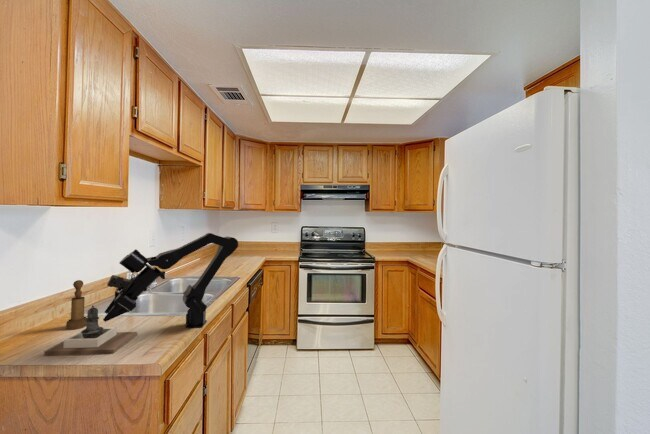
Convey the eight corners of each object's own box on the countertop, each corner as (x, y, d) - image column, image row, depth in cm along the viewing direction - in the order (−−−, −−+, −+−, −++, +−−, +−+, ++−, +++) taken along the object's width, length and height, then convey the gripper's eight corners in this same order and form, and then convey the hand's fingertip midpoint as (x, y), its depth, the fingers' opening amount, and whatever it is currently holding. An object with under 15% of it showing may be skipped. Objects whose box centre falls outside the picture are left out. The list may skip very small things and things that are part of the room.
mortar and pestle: (84, 328, 110) (85, 281, 110) (62, 330, 107) (63, 282, 107) (90, 322, 116) (91, 278, 116) (70, 324, 114) (71, 279, 114)
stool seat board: (137, 335, 105) (137, 325, 105) (113, 353, 91) (113, 341, 91) (77, 336, 103) (78, 326, 103) (44, 355, 89) (44, 343, 89)
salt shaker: (106, 336, 101) (106, 302, 101) (98, 343, 95) (99, 307, 95) (86, 338, 99) (86, 303, 99) (77, 345, 93) (77, 308, 93)
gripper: (123, 263, 109) (86, 296, 103) (124, 271, 94) (80, 310, 88) (147, 281, 114) (113, 314, 108) (151, 291, 99) (111, 330, 92)
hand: (104, 316), depth 99 cm, fingers open, 9 cm apart
